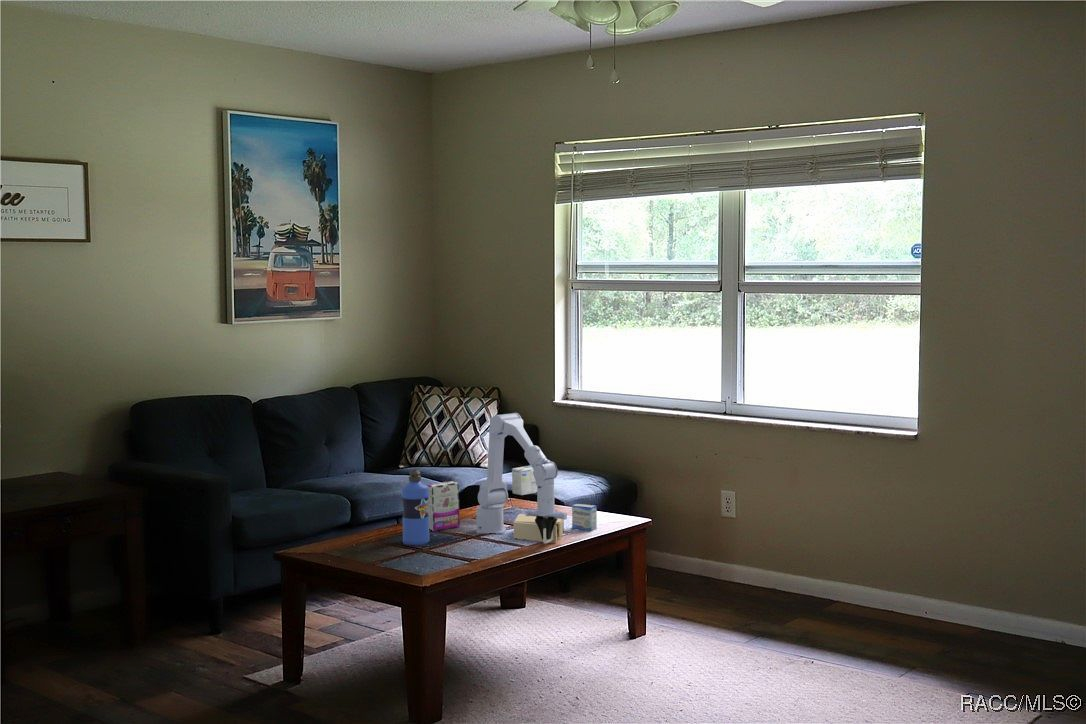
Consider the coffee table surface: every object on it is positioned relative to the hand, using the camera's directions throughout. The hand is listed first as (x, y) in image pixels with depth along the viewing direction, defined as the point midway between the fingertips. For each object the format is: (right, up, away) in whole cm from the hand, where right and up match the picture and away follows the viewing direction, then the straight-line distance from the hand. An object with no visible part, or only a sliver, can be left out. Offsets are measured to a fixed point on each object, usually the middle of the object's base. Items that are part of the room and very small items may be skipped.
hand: (546, 538), depth 358 cm
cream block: (-5, -2, +4) cm, 7 cm away
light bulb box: (-8, +4, +93) cm, 93 cm away
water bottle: (-45, -3, +8) cm, 45 cm away
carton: (-2, -1, +16) cm, 16 cm away
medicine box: (+14, -1, +24) cm, 28 cm away
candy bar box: (-37, -1, +28) cm, 47 cm away
